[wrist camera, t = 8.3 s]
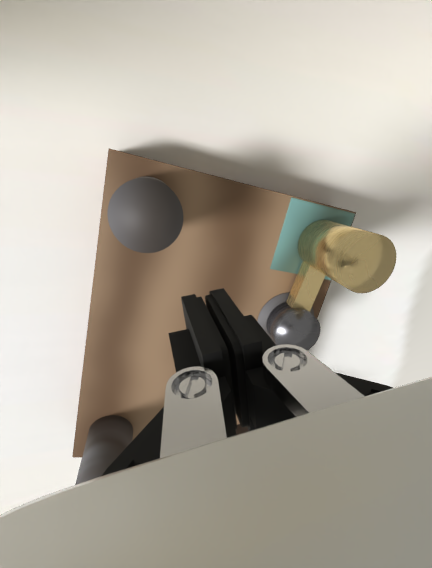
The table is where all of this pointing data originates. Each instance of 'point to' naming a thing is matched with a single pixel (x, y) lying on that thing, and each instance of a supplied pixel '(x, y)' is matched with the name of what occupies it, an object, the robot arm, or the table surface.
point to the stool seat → (174, 284)
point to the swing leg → (329, 275)
